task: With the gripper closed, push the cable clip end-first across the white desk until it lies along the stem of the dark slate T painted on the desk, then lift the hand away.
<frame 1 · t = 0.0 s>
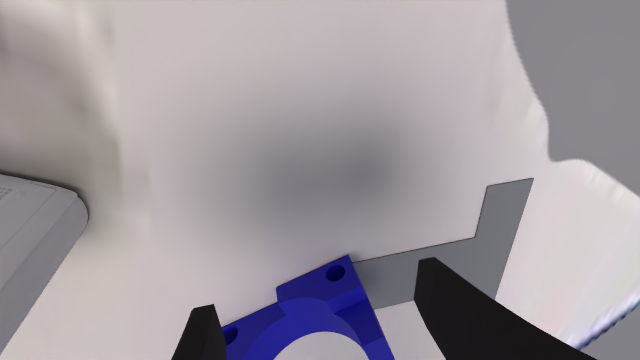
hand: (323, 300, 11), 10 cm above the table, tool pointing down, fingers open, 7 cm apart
t marking: (399, 279, 27), on the table
cable clip: (287, 302, 26), on the table, touching t marking
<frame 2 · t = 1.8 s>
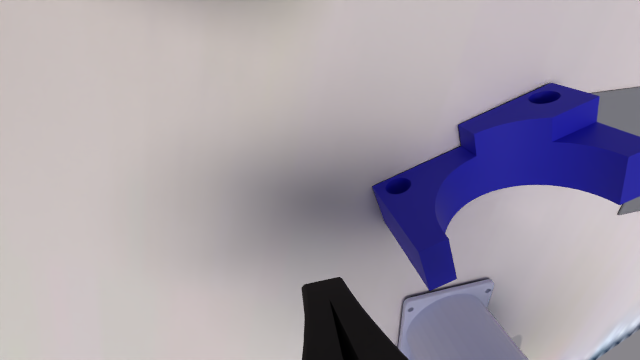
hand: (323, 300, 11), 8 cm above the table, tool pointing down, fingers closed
t marking: (587, 135, 22), on the table
cable clip: (460, 154, 20), on the table, touching t marking
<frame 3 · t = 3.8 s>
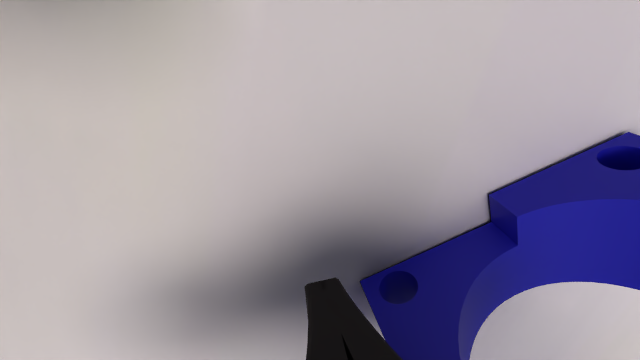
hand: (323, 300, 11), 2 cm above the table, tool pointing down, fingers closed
cable clip: (489, 231, 14), on the table, touching gripper, t marking
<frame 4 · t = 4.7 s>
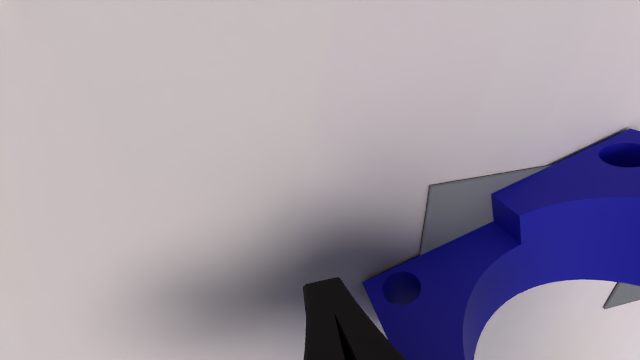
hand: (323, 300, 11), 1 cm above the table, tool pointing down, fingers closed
t marking: (554, 220, 14), on the table
cable clip: (491, 230, 14), resting on t marking, touching gripper
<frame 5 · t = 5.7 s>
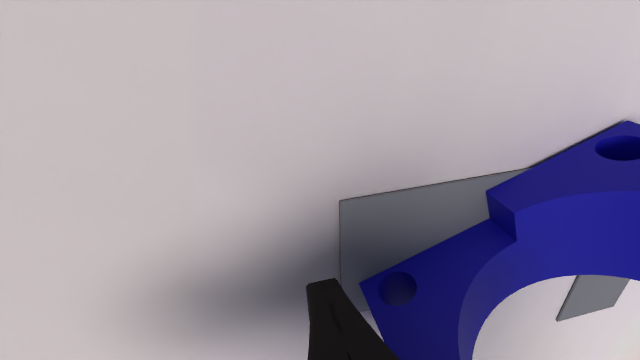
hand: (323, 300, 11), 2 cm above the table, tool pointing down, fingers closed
t marking: (486, 234, 14), on the table
cable clip: (488, 227, 14), resting on t marking, touching gripper
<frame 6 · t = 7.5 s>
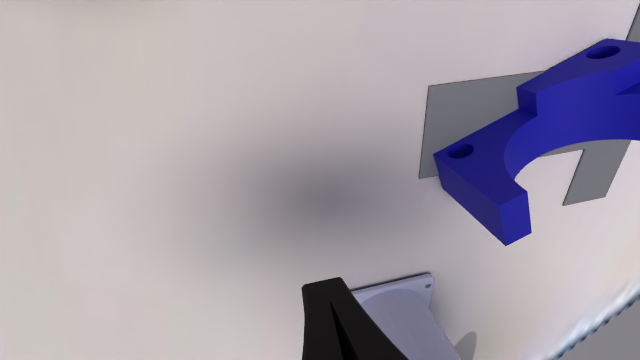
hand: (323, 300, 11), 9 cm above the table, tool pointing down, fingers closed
t marking: (516, 120, 21), on the table
cable clip: (517, 117, 21), resting on t marking
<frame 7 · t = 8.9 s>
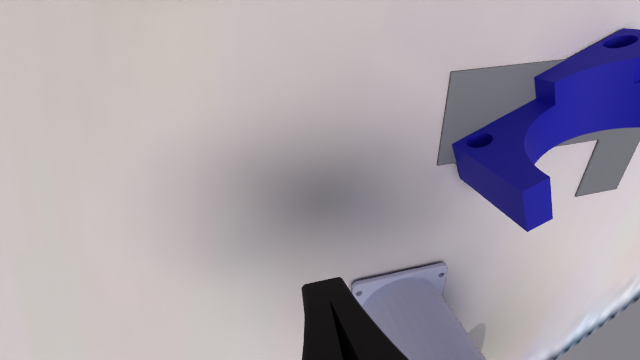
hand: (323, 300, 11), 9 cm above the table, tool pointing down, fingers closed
t marking: (533, 109, 21), on the table
cable clip: (534, 107, 21), resting on t marking
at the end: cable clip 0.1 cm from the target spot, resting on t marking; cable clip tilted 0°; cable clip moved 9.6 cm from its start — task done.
